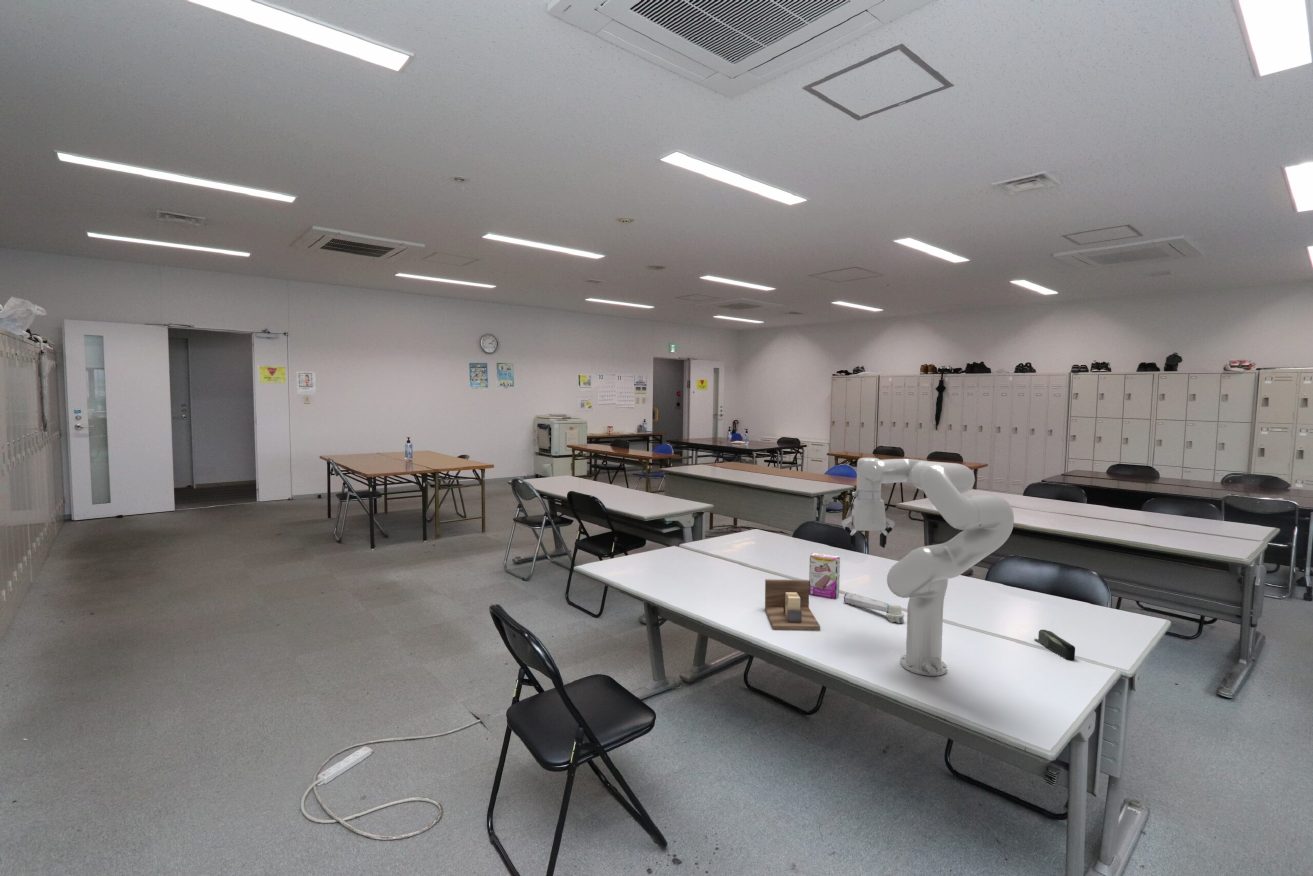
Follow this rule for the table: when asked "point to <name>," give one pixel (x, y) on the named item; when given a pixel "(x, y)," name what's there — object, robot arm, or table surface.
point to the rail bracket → (791, 602)
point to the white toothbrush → (876, 606)
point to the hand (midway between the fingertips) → (867, 546)
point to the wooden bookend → (776, 605)
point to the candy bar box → (824, 575)
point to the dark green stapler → (1056, 644)
